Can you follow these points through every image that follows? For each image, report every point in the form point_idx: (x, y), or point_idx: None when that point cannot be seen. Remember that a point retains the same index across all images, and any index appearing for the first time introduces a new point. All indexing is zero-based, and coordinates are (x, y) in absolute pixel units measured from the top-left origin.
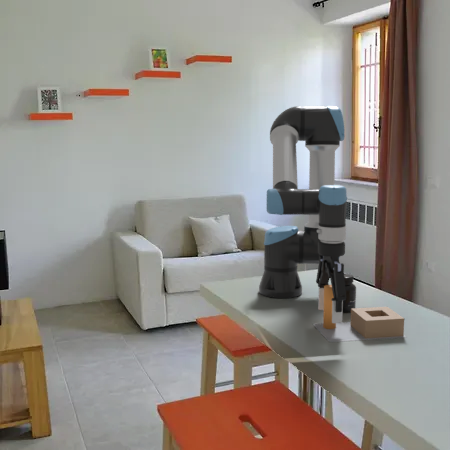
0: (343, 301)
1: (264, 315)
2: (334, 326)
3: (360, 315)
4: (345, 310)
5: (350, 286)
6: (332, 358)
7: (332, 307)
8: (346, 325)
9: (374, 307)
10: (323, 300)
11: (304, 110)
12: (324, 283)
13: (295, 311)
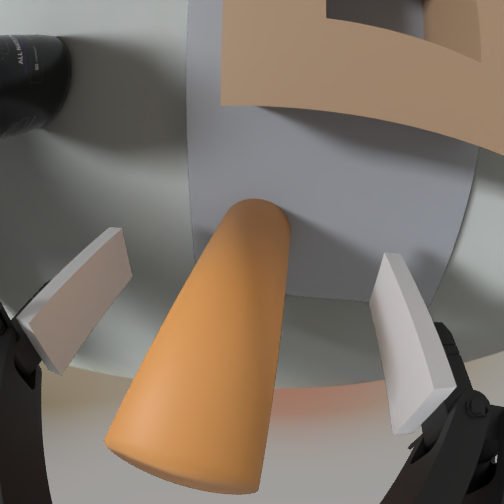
0: (16, 100)
1: (94, 346)
2: (287, 223)
3: (437, 124)
4: (53, 83)
5: None
6: (494, 318)
7: (390, 381)
8: (248, 128)
9: None
10: (96, 290)
11: None
12: (22, 381)
13: (43, 258)
